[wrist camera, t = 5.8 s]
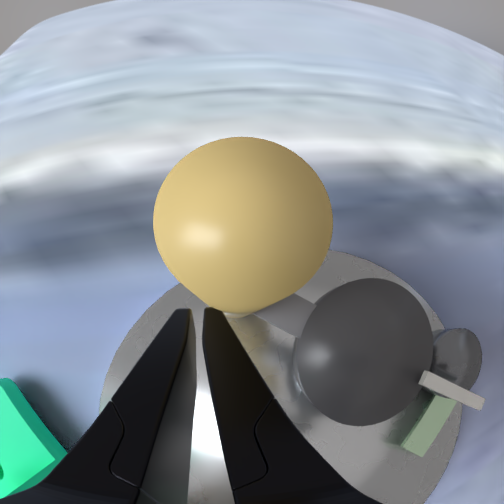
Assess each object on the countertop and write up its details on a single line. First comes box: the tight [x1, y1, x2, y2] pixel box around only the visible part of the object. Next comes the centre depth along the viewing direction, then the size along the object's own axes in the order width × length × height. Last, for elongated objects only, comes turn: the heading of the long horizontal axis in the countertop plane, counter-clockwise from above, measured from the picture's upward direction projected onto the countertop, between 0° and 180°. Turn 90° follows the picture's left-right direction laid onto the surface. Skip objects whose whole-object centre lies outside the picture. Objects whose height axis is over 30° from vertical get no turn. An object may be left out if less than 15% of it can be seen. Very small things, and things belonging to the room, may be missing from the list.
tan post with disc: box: [153, 137, 485, 426], centre depth 10 cm, size 16×7×11 cm, turn 61°
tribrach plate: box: [99, 250, 482, 504], centre depth 14 cm, size 22×22×3 cm
